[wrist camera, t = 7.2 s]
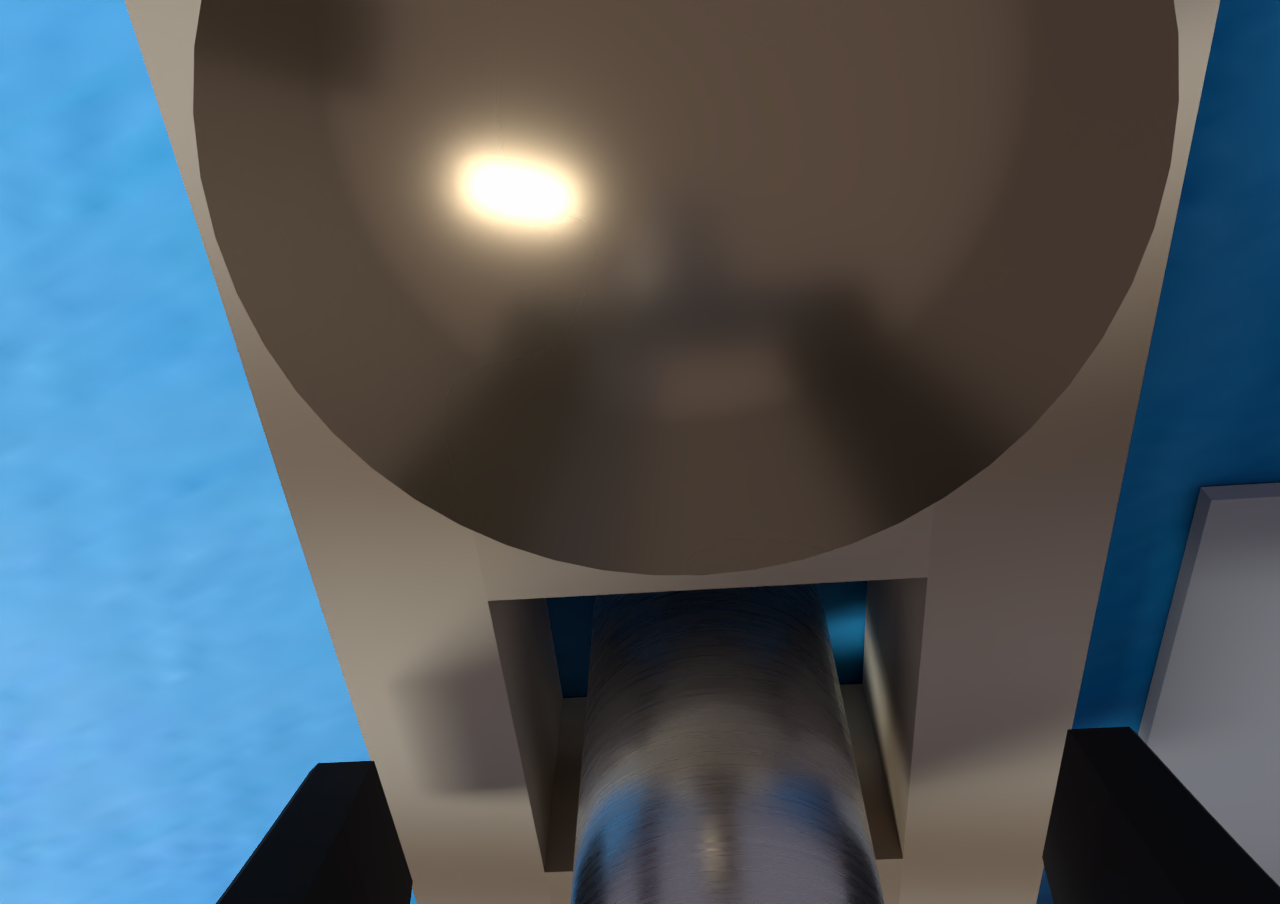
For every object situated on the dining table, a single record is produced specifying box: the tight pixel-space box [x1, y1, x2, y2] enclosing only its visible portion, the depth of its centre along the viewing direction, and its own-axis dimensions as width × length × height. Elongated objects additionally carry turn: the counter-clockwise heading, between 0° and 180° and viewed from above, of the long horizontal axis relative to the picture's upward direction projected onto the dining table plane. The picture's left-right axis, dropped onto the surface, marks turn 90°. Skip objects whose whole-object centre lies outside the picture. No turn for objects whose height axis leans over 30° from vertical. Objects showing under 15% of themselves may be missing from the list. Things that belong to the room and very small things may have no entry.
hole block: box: [125, 0, 1220, 904], centre depth 11 cm, size 16×8×3 cm, turn 5°
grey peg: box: [571, 583, 885, 904], centre depth 11 cm, size 3×3×8 cm
